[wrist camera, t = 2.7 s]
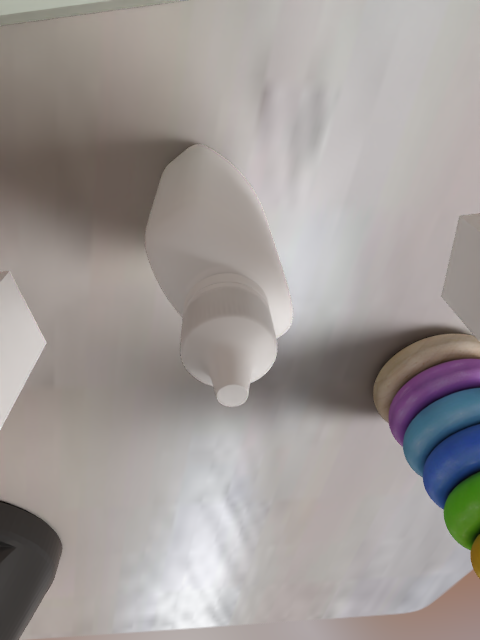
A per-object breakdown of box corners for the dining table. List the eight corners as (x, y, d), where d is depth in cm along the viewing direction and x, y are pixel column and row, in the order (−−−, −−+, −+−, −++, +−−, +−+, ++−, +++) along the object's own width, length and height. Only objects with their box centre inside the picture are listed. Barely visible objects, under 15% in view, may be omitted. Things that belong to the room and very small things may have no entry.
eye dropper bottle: (184, 264, 20) (162, 481, 10) (157, 146, 17) (89, 303, 7) (270, 252, 20) (330, 460, 10) (260, 132, 17) (334, 269, 7)
